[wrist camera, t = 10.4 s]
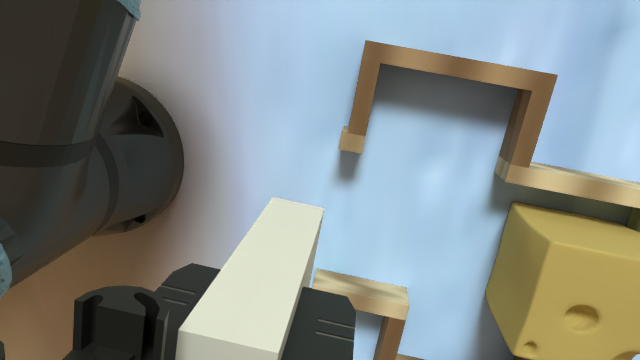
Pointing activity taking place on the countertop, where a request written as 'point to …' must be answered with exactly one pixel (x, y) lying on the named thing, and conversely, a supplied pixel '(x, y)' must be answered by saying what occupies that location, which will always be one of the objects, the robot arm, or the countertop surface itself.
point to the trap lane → (509, 167)
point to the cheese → (566, 286)
